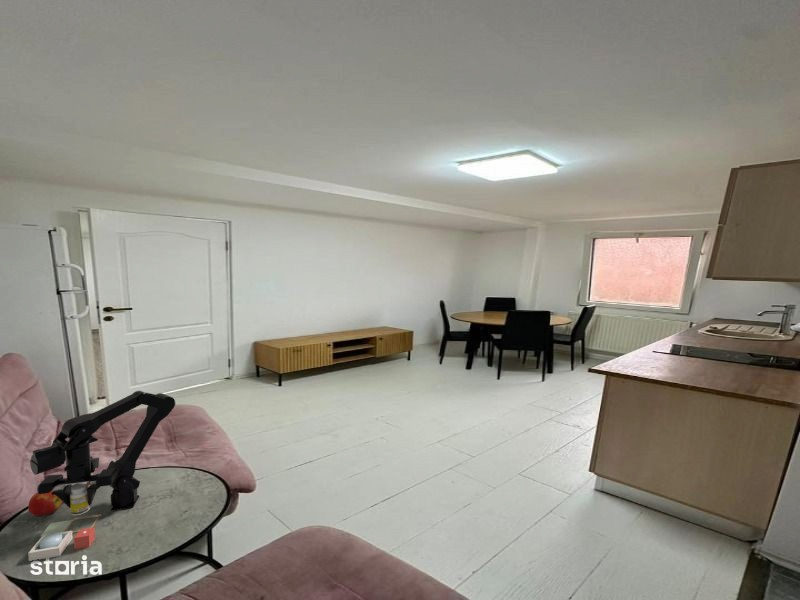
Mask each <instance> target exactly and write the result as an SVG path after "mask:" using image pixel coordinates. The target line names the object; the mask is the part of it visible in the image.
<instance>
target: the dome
mask: <svg viewBox="0 0 800 600" xmlns="http://www.w3.org/2000/svg"><path fill="white" fill-rule="evenodd" d="M39 540H40V539H39ZM61 541H62V533H60V532H56V533H52V534H49V535H47V536H45V537H43V538H42V539H41V540H40V542H39V543H40V549H45V548H51V547H57V546H58V545H59V544H60V542H61Z"/></svg>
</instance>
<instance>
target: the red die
mask: <svg viewBox="0 0 800 600" xmlns="http://www.w3.org/2000/svg"><path fill="white" fill-rule="evenodd" d="M95 528H96V527H95V526H93V528H90V527H89V528H81V529H79V532H77V533H76V535H75V536H74V537H73V543H74V544H73V545H74V550H80V549H85V548H90V547H91V546H92V545H93V542H94V541H95V540H96V531H95V530H96V529H95Z"/></svg>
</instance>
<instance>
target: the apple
mask: <svg viewBox="0 0 800 600" xmlns="http://www.w3.org/2000/svg"><path fill="white" fill-rule="evenodd" d="M52 492H53V490H52V491H51V492H50V493H45V494H37V492H36V493H34V494H33V495H32V496H31V498H30V499H29V500H28V506H27V508H28V512H29V514H30V515H33V516H34V517H45V516H49V515H51V514H53V513H55V512H56V511H58V510H59V509H60V507H61V506H62V505H63V503H64V502H63V501H62V500H61V499H60V498H58V497H57V496H56V495H52V494H51V493H52Z"/></svg>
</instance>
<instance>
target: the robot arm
mask: <svg viewBox="0 0 800 600" xmlns="http://www.w3.org/2000/svg"><path fill="white" fill-rule="evenodd" d="M142 405H144V406H146V413H145V418H144V419H143V421H142V422H141V424H140V425H139V427H138V429H137V430H136V433H135V434H134V436H133V437H132V439H131V441H130V442H129V443H128V445H127V447H126V449H125V451H124V452H123V454H121V457H120V458H118V459H117V460H116V461H114V460H111V461H110V462H109V464H108V466H107V468H104V469H102V470H101V472H99V473H95V471H96V469H99V466H100V463H99V462H100V457H93V456H91V446H90V444H91V443H95V442H97V441H98V440H99V438H98V437H96V436H94V435H93V434H95V433H97V432H98V430H99V429H100V428H101V427H102V426H104V425H105V424H107V423H109V422H110V421H113V420H114V419H116V418H118V417H120V416H122V415H124V414H126V413H128V412H129V411H132V410H134V409H135V408H138V407H139V406H142ZM175 406H176V400H175V398H174V397H173V396H170V395H168V394H165V393H162V392H161V393H156V394H154V393H149V392H145V391H142V390H136V391H134V392H132V393H131V394H129V395H127V396H126V397H123V398H121V399H119V400H117V401H115V402H113V403H111V404H109V405H107V406H105V407H103V408H101V409H99V410H97V411H94V412H89V413H86V414H81V415H77V416H75V417H71V418H70V419H68V420H66V421H65V422H64V423H63V425H62V427H61V431H60V432H59V433H58V435H57V436H56V437H55V439H54V440H53V441H52V443H53V445H50V446H47V447H43V448H38V449H35V450H33V451H32V455H30V456H31V457H30V460H29V465H30V469H31V472H32V474H33V475H34V476H36V475H40V474H43V473H45V472H48V471H51V470H54V469H57V468H60V467H62V466H63V465H65V466H64V467H63V471H64V472H66V477H65V478H64V475H63V474H54V475H53V474H52V475H48V476H46V477H45V478H44V479H43V480H42V481H41V482H40V483H39V484H37V488H36V493H37V494H45V493H50V492H51V491H52V490H53V492H52V493H51V494H52V495H56V496H57V497H58V498H60V499H61V500H62V501H63V503H64V505H65V506H66V507H68V508H69V509H71V505H70V495H71V488H72V487H73V485H76V484H78V483H87V482H90V484H91V485H90V486H89V487H88V489H87V496H88V504H89V505H91V506H92V503H93V502H94V498H95V495H96V492H98V491H97V490H98V489H100V488H101V487H107V486H109V487H110V488H112V492H111V494H110V506H111V508H110V511H111V512H113V511H119V510H121V511H122V510H127V509H128V510H129V509H133V508H134V507H135V505H136V504H137V502H138V500H139V499H140V495H139V494H138V489H139V487H140V484H141V481H140V480H138V479H137V478H135V477H134V475H135V472H136V467H137V466H136V465H137V461H138V459H139V458H140V456H141V454H142V453H143V451H144V450H145V447H146V445H148V442H149V441H150V439H151V437H152V435H153V434H154V432H155V430H156V428H157V427H158V425H159V424H160V422H161V421H162V420H164V419H165V418H166V417H168V416H169V415H170V414H171V412H172V411H173V410H174V408H175ZM67 439H68V440H67ZM91 473H93V474H94V473H95V474H94V475H91Z"/></svg>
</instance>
